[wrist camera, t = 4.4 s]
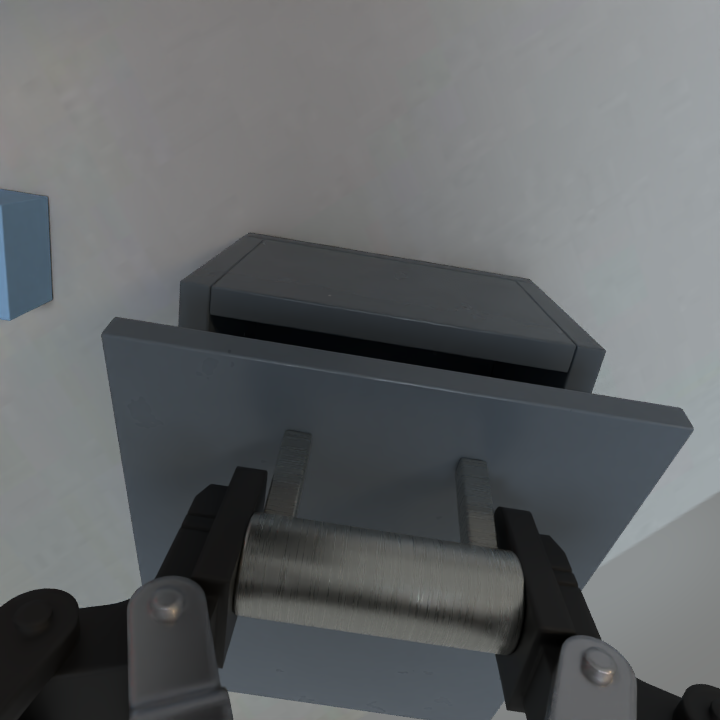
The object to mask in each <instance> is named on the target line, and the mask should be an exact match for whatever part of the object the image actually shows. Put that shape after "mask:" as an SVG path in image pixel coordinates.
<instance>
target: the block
mask: <svg viewBox="0 0 720 720" xmlns="http://www.w3.org/2000/svg"><path fill="white" fill-rule="evenodd" d="M51 300H52V280H51V258H50V237H49V215H48V198H47V197H46V196H40V195H34V194H28V193H22V192H16V191H10V190H4V189H0V319H2V320H8V321H10V320H12V319H14V318H16V317H18V316H20V315H22V314H24V313H26V312H29V311H31V310H33V309H35V308H37V307H39V306H41V305H43V304H45V303H47V302H49V301H51Z"/></svg>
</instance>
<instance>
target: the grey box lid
mask: <svg viewBox="0 0 720 720" xmlns="http://www.w3.org/2000/svg"><path fill="white" fill-rule="evenodd" d="M101 337H102V343H103V349H104V355H105V361H106V367H107V374H108V380H109V386H110V392H111V398H112V404H113V410H114V416H115V423H116V429H117V435H118V441H119V447H120V453H121V459H122V465H123V472H124V478H125V484H126V490H127V496H128V502H129V508H130V514H131V521H132V527H133V533H134V539H135V545H136V551H137V557H138V563H139V570H140V576H141V582H142V585H144V584H145V583H147V582H149V581H151V580H153V579H155V577H156V575H157V573H158V571H159V569H160V567H161V565H162V563H163V561H164V559H165V557H166V555H167V553H168V551H169V549H170V547H171V545H172V543H173V541H174V539H175V537H176V535H177V533H178V531H179V529H180V528H181V525H182V523H183V520H184V518H185V516H186V515H187V514H188V510H189V508H190V506H191V504H192V502H193V500H194V498H195V496H196V495H197V494H199V493H200V492H201V491H203V490H204V489H205V488H206V487H208V486H209V485H210V484H216V485H223V486H229V483H230V481H231V479H232V476H233V474H234V471H235V469H236V467H237V466H241V467H247V468H254V469H261V470H267V472H268V476H267V486H266V495H265V504H264V512H255V513H254V514H253V515H252V517H251V519H250V522H249V524H248V527H247V531H246V534H245V538H244V542H243V546H242V550H241V554H240V559H239V564H238V569H237V575H236V581H235V588H234V596H233V612H234V614H235V615H237V616H238V617H237V620H236V624H235V627H234V631H233V634H232V638H231V641H230V645H229V648H228V651H227V655H226V658H225V662H224V665H223V669H221V668H218V673H219V678H220V683H221V686H222V687H224V686H225V687H226V689H227V691H230V692H237V693H244V694H251V695H258V696H265V697H272V698H279V699H286V700H293V701H300V702H306V703H313V704H320V705H327V706H334V707H341V708H348V709H355V710H362V711H369V712H376V713H383V714H390V715H396V716H403V717H410V718H417V719H424V720H491V719H492V717H493V716H494V715H495V714H496V712H497V711H498V709H499V708H500V706H501V705H502V704H503V702H504V701H505V699H504V694H503V689H502V685H501V680H500V675H499V670H498V666H497V661H496V656H495V654H500V655H508V654H511V653H512V652H513V651H514V650H515V648H516V646H517V644H518V642H519V639H520V636H521V632H522V627H523V622H524V613H525V585H524V577H523V572H522V567H521V564H520V561H519V559H518V557H517V556H516V554H515V553H513V552H512V551H510V550H504V549H499V544H498V537H497V530H496V523H495V516H494V513H495V510H496V509H497V507H499V506H500V507H506V508H513V509H519V510H526V511H530V512H531V514H532V516H533V519H534V521H535V524H536V527H537V529H538V532H539V534H543V535H550V536H551V537H552V539H553V540H554V541H555V542H556V543H557V544H558V545H559V546H560V547H561V549H562V550H563V551H564V552H565V554H566V556H567V559H568V561H569V563H570V566H571V568H572V573H574V575H575V578H576V580H577V583H578V588H580V590H581V591H582V589H583V588H584V586H585V585H586V584H587V582H588V581H589V579H590V577H591V576H592V575H593V574H594V572H595V571H596V569H597V568H598V566H599V565H600V564H601V562H602V561H603V559H604V558H605V556H606V555H607V554H608V552H609V551H610V549H611V548H612V546H613V545H614V544H615V542H616V541H617V539H618V538H619V536H620V535H621V534H622V532H623V531H624V529H625V528H626V526H627V525H628V524H629V522H630V521H631V519H632V518H633V516H634V515H635V514H636V512H637V511H638V509H639V508H640V506H641V505H642V504H643V502H644V501H645V499H646V498H647V496H648V495H649V494H650V492H651V491H652V489H653V488H654V486H655V485H656V484H657V482H658V481H659V479H660V478H661V476H662V475H663V474H664V472H665V471H666V469H667V468H668V466H669V465H670V464H671V462H672V461H673V459H674V458H675V456H676V455H677V454H678V452H679V451H680V449H681V448H682V446H683V445H684V444H685V442H686V441H687V439H688V438H689V436H690V435H691V434H692V432H693V430H694V429H693V426H692V424H691V423H690V421H689V419H688V418H687V416H686V414H685V412H684V411H683V409H681V408H678V407H672V406H665V405H659V404H653V403H647V402H641V401H634V400H628V399H622V398H616V397H610V396H604V395H597V394H591V393H585V392H579V391H573V390H566V389H560V388H554V387H548V386H542V385H535V384H529V383H523V382H517V381H511V380H504V379H498V378H492V377H486V376H480V375H474V374H467V373H461V372H455V371H449V370H443V369H436V368H430V367H424V366H418V365H412V364H405V363H399V362H393V361H387V360H381V359H374V358H368V357H362V356H356V355H350V354H343V353H337V352H331V351H325V350H319V349H313V348H306V347H300V346H294V345H288V344H282V343H275V342H269V341H263V340H257V339H251V338H244V337H238V336H232V335H226V334H220V333H213V332H207V331H201V330H195V329H189V328H183V327H176V326H170V325H164V324H158V323H152V322H145V321H139V320H133V319H127V318H121V317H115V318H114V319H113V320H112V321H111V322H110V324H109V325H108V326H107V327H106V329H105V330H104V331H103V332H102V334H101Z"/></svg>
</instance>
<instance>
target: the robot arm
mask: <svg viewBox="0 0 720 720" xmlns="http://www.w3.org/2000/svg"><path fill="white" fill-rule="evenodd" d="M267 476H268V472H267V470H261V469H254V468H247V467H241V466H237V467H236V469H235V471H234V474H233V476H232V479H231V481H230V483H229V486H223V485H216V484H210V485H209V486H208V487H206V488H205V489H204V490H203V491H201V492H200V493H199V494H197V495H196V496H195V498H194V500H193V502H192V504H191V506H190V508H189V510H188V514H187V515H186V516H185V518H184V520H183V523H182V525H181V528H180V529H179V531H178V533H177V535H176V537H175V539H174V541H173V543H172V545H171V547H170V549H169V551H168V553H167V555H166V557H165V559H164V561H163V563H162V565H161V567H160V569H159V571H158V573H157V575H156V577H155V579H153V580H151V581H149V582H147V583H145V584H144V585H142V586H141V587H140V588H138V589H137V590H136V591H135V593H134V594H133V595H132V597H131V598H130V599H128V600H126V601H123V602H119V603H116V604H110V605H103V606H95V607H87V608H79V607H78V603H77V601H76V599H75V598H74V597H73V596H72V595H70V594H69V593H67V592H65V591H62V590H58V589H38V590H33V591H29V592H26V593H23V594H21V595H18V596H17V597H15V598H13V599H11V600H10V601H8V602H7V603H5V604H4V605H3V606H1V607H0V720H233V715H232V709H231V704H230V699H229V695H228V691H227V689H226V687H225V686H224V687H222V686H221V683H220V678H219V673H218V668H221V669H223V665H224V662H225V658H226V655H227V651H228V648H229V645H230V641H231V638H232V634H233V631H234V627H235V624H236V620H237V617H238V616H237V615H235V614H234V612H233V596H234V588H235V581H236V575H237V569H238V564H239V559H240V554H241V550H242V546H243V542H244V538H245V534H246V531H247V527H248V524H249V522H250V519H251V517H252V515H253V514H254V513H255V512H264V504H265V495H266V486H267ZM494 516H495V523H496V530H497V537H498V544H499V549H504V550H510V551H512V552H513V553H515V554H516V556H517V557H518V559H519V561H520V564H521V567H522V572H523V577H524V585H525V613H524V622H523V627H522V632H521V636H520V639H519V642H518V644H517V646H516V648H515V650H514V651H513V652H512V653H511V654H508V655H500V654H495V656H496V661H497V666H498V670H499V675H500V680H501V685H502V689H503V694H504V699H505V704H506V708H507V710H510V711H517V712H524V713H525V714H526V718H527V720H720V689H719V688H716V687H713V686H710V685H706V684H696V685H692V686H690V687H689V688H687V689H686V691H685V693H684V695H683V696H682V698H681V697H678V696H676V695H674V694H671V693H669V692H666V691H664V690H662V689H659V688H657V687H655V686H652V685H650V684H647V683H646V682H643V681H641V680H639V679H638V678H636V677H635V673H634V671H633V669H632V667H631V666H630V664H629V663H628V661H627V660H626V659H625V658H624V657H623V656H622V655H621V654H620V653H619V652H618V651H617V650H616V649H615V648H613V647H612V646H610V645H609V644H607V643H606V642H604V641H602V640H601V637H600V635H599V633H598V630H597V628H596V626H595V623H594V621H593V618H592V616H591V614H590V611H589V609H588V607H587V604H586V602H585V599H584V597H583V594H582V592H581V590H580V588H578V583H577V580H576V578H575V575H574V573H572V568H571V566H570V563H569V561H568V559H567V556H566V554H565V552H564V551H563V550H562V549H561V547H560V546H559V545H558V544H557V543H556V542H555V541H554V540H553V539H552V537H551V536H550V535H543V534H539V532H538V529H537V527H536V524H535V521H534V519H533V516H532V514H531V512H530V511H526V510H519V509H513V508H506V507H500V506H499V507H497V509H496V510H495V513H494Z"/></svg>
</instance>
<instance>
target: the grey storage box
mask: <svg viewBox="0 0 720 720" xmlns="http://www.w3.org/2000/svg"><path fill="white" fill-rule="evenodd" d="M179 327H183V328H189V329H195V330H201V331H207V332H213V333H220V334H226V335H232V336H238V337H244V338H251V339H257V340H263V341H269V342H275V343H282V344H288V345H294V346H300V347H306V348H313V349H319V350H325V351H331V352H337V353H343V354H350V355H356V356H362V357H368V358H374V359H381V360H387V361H393V362H399V363H405V364H412V365H418V366H424V367H430V368H436V369H443V370H449V371H455V372H461V373H467V374H474V375H480V376H486V377H492V378H498V379H504V380H511V381H517V382H523V383H529V384H535V385H542V386H548V387H554V388H560V389H566V390H573V391H579V392H585V393H592V390H593V387H594V384H595V382H596V379H597V376H598V373H599V370H600V367H601V364H602V361H603V358H604V356H605V353H606V350H605V349H604V348H603V347H601V346H600V345H599V344H598V343H597V342H596V341H595V340H594V339H593V338H592V337H591V336H590V335H589V334H588V333H587V332H586V331H584V330H583V329H582V328H581V327H580V326H579V325H578V324H577V323H576V322H575V321H574V320H573V319H572V318H571V317H570V316H569V315H567V314H566V313H565V312H564V311H563V310H562V309H561V308H560V307H559V306H558V305H557V304H556V303H555V302H554V301H553V300H551V299H550V298H549V297H548V296H547V295H546V294H545V293H544V292H543V291H542V290H541V289H540V288H539V287H538V286H537V285H535V284H534V283H533V282H532V281H531V280H530V279H525V278H519V277H513V276H507V275H501V274H495V273H489V272H483V271H477V270H471V269H465V268H459V267H453V266H447V265H441V264H435V263H429V262H423V261H417V260H411V259H405V258H399V257H393V256H387V255H381V254H375V253H369V252H363V251H357V250H351V249H345V248H339V247H333V246H327V245H321V244H315V243H309V242H303V241H297V240H291V239H285V238H279V237H273V236H267V235H261V234H255V233H248V234H246V235H245V236H243V237H242V238H241V239H239V240H238V241H236V242H235V243H234V244H232V245H231V246H229V247H228V248H227V249H225V250H224V251H222V252H221V253H220V254H218V255H217V256H215V257H214V258H212V259H211V260H210V261H208V262H207V263H205V264H204V265H203V266H201V267H200V268H198V269H197V270H196V271H194V272H193V273H191V274H190V275H189V276H187V277H186V278H184V279H183V280H182V281H181V282H180V302H179Z"/></svg>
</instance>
